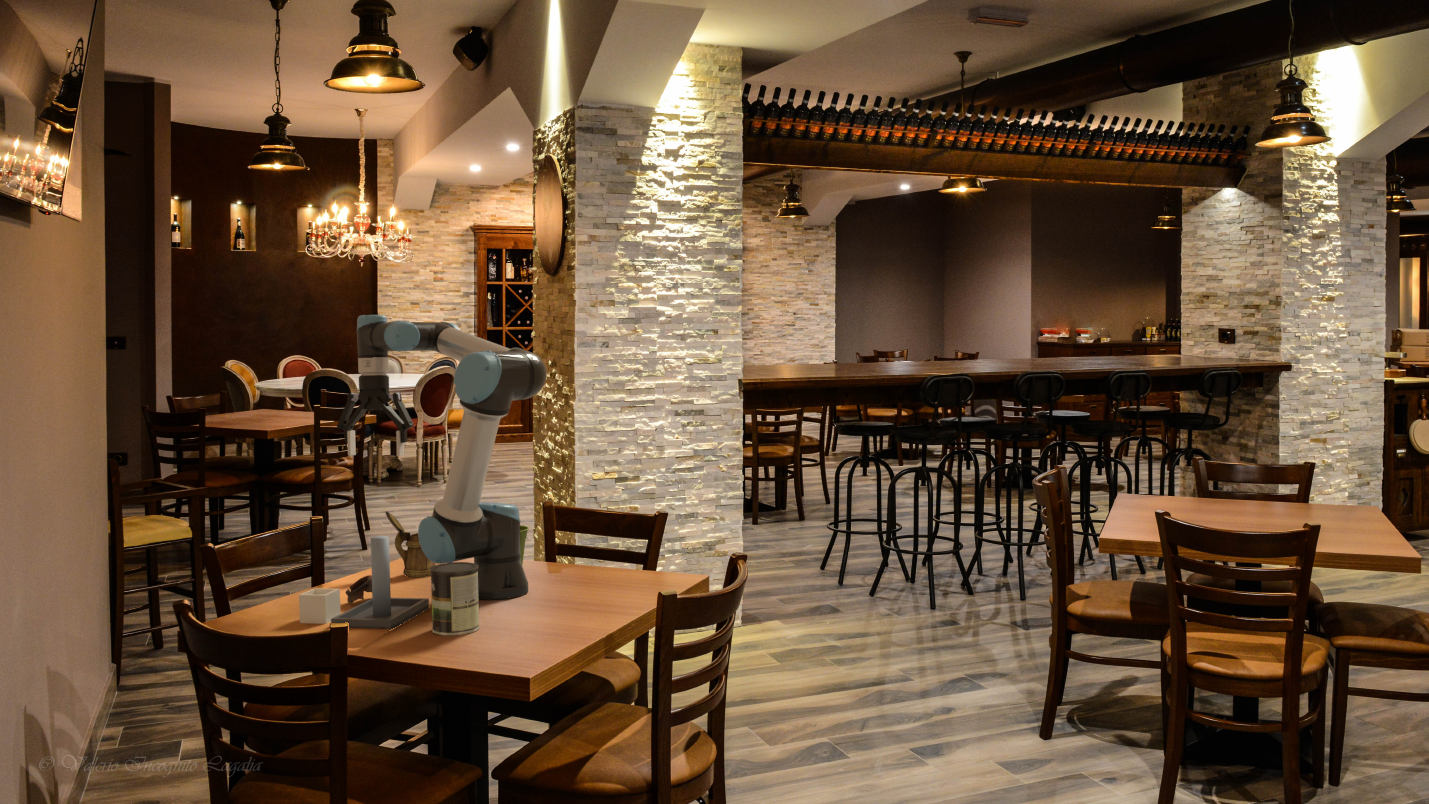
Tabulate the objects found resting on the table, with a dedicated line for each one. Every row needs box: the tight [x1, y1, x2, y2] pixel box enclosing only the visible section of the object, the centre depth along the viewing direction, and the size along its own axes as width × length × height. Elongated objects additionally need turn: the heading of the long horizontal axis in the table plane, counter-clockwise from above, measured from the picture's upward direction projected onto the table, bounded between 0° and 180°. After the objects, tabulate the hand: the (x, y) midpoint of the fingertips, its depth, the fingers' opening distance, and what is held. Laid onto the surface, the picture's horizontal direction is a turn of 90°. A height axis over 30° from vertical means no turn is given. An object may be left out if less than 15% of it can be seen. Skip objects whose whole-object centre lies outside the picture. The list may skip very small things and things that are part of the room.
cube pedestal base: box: [298, 587, 341, 625], centre depth 235 cm, size 6×6×7 cm
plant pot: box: [520, 524, 530, 566], centre depth 291 cm, size 12×12×11 cm
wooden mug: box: [385, 511, 437, 578], centre depth 284 cm, size 9×14×18 cm, turn 99°
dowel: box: [370, 535, 392, 617], centre depth 236 cm, size 4×4×18 cm
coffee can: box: [430, 561, 480, 637], centre depth 226 cm, size 10×10×14 cm
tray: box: [330, 597, 430, 630], centre depth 237 cm, size 14×20×2 cm
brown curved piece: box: [345, 574, 372, 604], centre depth 252 cm, size 12×10×8 cm
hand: (376, 455), depth 268 cm, fingers open, 13 cm apart
